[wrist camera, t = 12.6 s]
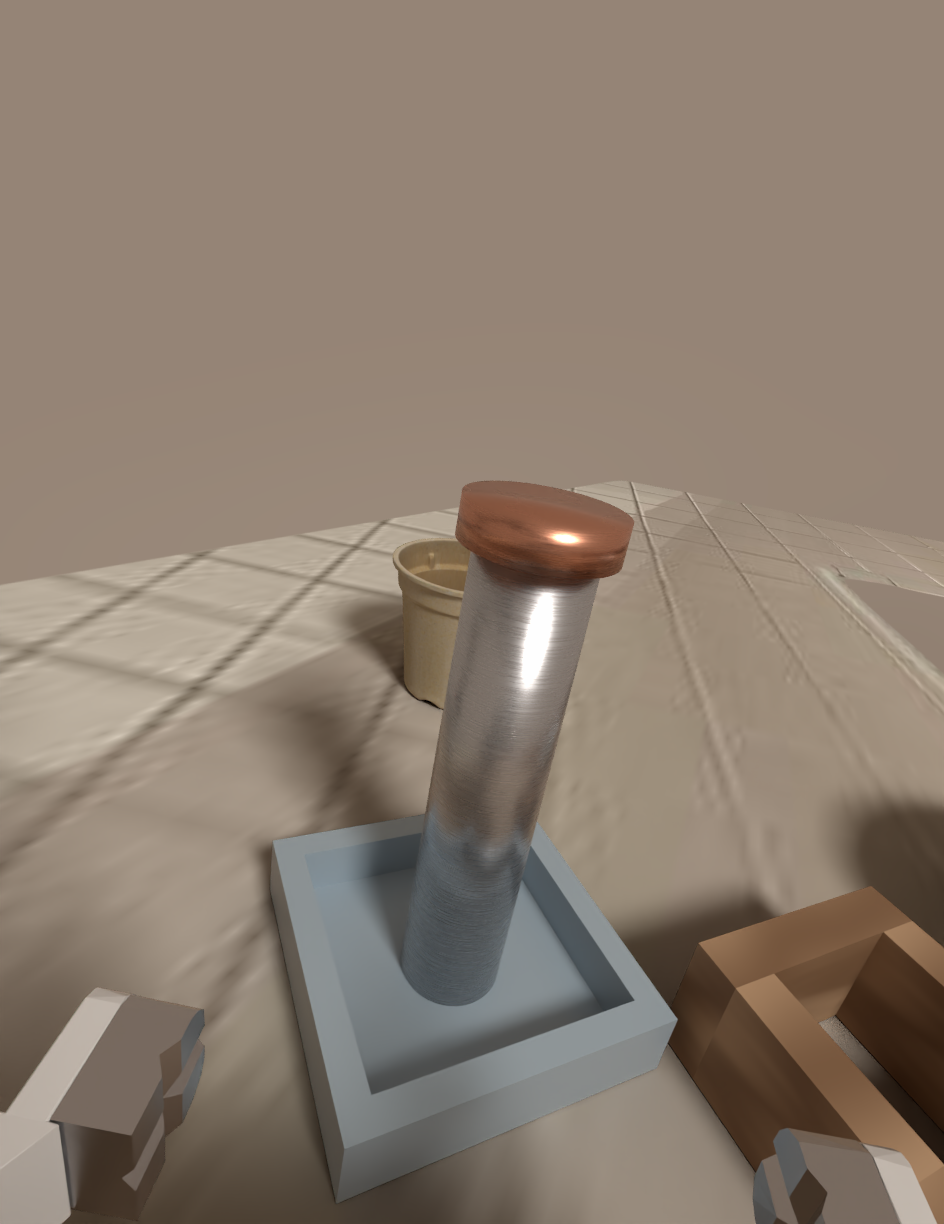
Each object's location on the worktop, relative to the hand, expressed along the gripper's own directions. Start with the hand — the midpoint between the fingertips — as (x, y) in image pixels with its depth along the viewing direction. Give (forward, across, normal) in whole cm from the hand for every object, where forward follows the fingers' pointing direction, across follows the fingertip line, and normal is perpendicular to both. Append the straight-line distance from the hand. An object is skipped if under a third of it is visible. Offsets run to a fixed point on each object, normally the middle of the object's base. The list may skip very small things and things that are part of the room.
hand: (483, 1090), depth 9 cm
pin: (+11, 0, +12) cm, 16 cm away
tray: (+11, 0, +12) cm, 17 cm away
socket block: (+9, -14, +12) cm, 21 cm away
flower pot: (+32, +3, +12) cm, 34 cm away
